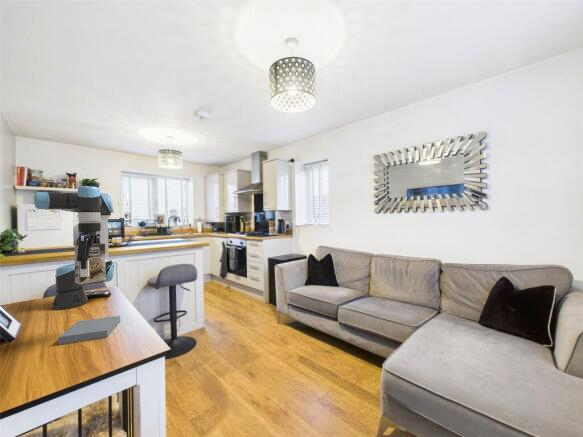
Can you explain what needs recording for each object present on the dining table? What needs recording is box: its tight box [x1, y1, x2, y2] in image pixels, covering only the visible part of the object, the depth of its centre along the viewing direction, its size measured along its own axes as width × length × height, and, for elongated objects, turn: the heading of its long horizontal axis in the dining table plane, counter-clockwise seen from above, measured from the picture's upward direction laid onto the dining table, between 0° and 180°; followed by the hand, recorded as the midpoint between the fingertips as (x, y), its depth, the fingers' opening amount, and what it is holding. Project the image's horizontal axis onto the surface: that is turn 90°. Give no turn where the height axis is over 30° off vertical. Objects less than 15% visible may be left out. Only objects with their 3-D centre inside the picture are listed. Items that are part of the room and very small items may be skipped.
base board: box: [58, 315, 121, 346], centre depth 106 cm, size 16×16×3 cm
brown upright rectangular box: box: [74, 244, 106, 285], centre depth 106 cm, size 9×6×16 cm
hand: (90, 273), depth 106 cm, fingers closed on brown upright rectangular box, 10 cm apart
